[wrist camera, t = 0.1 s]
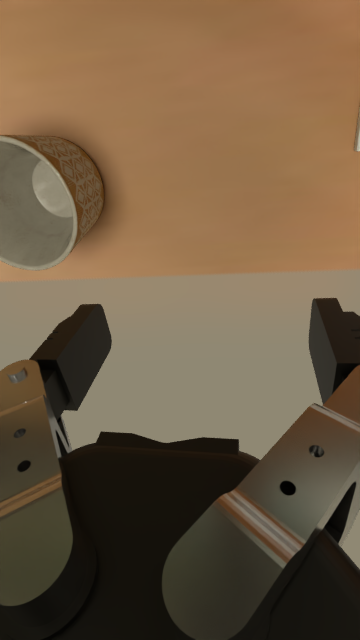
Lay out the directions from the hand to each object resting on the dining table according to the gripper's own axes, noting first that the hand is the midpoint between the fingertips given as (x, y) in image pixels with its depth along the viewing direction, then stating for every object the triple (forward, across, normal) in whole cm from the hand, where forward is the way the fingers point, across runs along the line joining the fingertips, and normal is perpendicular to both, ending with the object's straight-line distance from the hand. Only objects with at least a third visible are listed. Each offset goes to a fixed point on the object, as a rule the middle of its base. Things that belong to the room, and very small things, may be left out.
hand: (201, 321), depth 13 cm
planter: (+30, +20, -1) cm, 36 cm away
